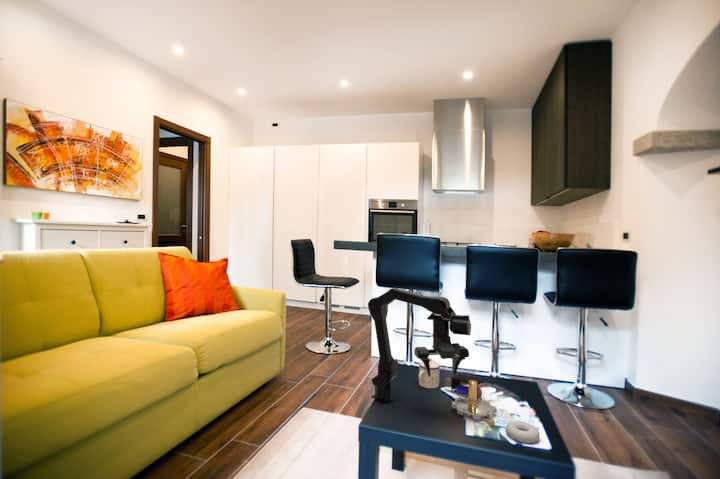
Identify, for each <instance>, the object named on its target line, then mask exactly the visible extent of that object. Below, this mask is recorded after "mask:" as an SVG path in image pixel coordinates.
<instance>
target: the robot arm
mask: <svg viewBox="0 0 720 479" xmlns="http://www.w3.org/2000/svg"><path fill="white" fill-rule="evenodd" d="M395 300H397V301H399V302H402V303H403V302H405V303H408V304H411V305H415V306H419V307H421V308H424V309H426V310H427V311H428V312H431V313H430V314H429V315H428V316H427V318H426V319H427V321H428V320H430V321H432V335H431V336H432V345H431V346H432V348H431V349H428V348H427V347H426V346H415V348H414V350H413V352H414V355H415V357H416V358H417V359H419V360H420V362H421V361H423V363H424V365H425V368H426V371H427V374H428V376H429V377H430V365H429V362H430V359H429V358H430V356H436V355H437V356H440V358H441V359H442V360H446V359H451V360H452V363H451V364H452V366H451V368H452V369H451V370H452V376H456V374H457V372H458V368H459V366H460V364H461V362H462V361H464V360H466V358H469V357H470V352H469V349H468V348H467V347H465V346H463V345H460V343H459V342H457V343H456V342H455V343H454V342H453V343H452V341H451V339H452V338H451V335H450V332H451V333H452V334H453V335H460V336H461V335H463V336H471V332H472V324H471V319H470V315H467V314H466V315H465V314H464V315H462V314H461V315H460V314H459V315H458V314H457V313H456V311H455V310H454V309H453V308H452V306H451V303H450V300H449V299H448V298H447V297H445V296H432V295H431V296H428V295H423V294H419V293H416V292H410V291H407V290H404V289H400V288H398V287H394V288H390V289H389V290H388V291H386V292H385V293H383V294H381V295H379V296H376V297H374V298H371V299H370V300H369V301H368V303H367V307H368V311H369V315H370V316H371V318H372V319H373V321H374V327H375V333H376V342H377V348H378V353H379V360H378V363H377V364H378V365H377V375H376V376H374V377H372V378H371V382H372V386H374V395H371V398H372V399H373V400H375V398H376V400H375V401H377V402H379V403H380V404H383V403H386V402H391V401H394V400H395V398H394V397H392V384H391V382H392V381H393V380H394V378H396V377H397V376H398V374H399V370H400V368H399V362H398V361H399V359H394V357H393V356H392V349H391V344H390V343H391V342H390V336H389V332H388V331H389V329H388V323H387V316H388V312H389V308H388V307H389V305H390V304H391V303H393V302H394V301H395Z"/></svg>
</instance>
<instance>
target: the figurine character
mask: <svg viewBox="0 0 720 479" xmlns="http://www.w3.org/2000/svg"><path fill="white" fill-rule="evenodd" d="M469 380H474V381H477V399H479V400H480V399H481V397H482V396H483V391H482V389H481V387H479V386H478V385H481V384H482V383H484V382H485V380H483V379H480V378H475V377H473V376H468V375H466V374H462V373H458V374H457V375H456V374H455V376H453V375H452V376H451V377H447V378H444V381H443V382H444V384H445V386H446V387H448V388H451V389H450V390H451V391H450V392H452V391H454V392H453V393H459V392H460V394H464V395H468V392H469ZM462 383H464V384H468V385H464V384H462ZM454 389H455V390H454Z"/></svg>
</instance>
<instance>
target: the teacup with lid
mask: <svg viewBox="0 0 720 479" xmlns="http://www.w3.org/2000/svg"><path fill="white" fill-rule="evenodd" d="M428 358H429V359H430V362H429V365H430V377H429V376H428V374H427V371H426V368H425V365H424V363H423V361H421V360H420V362H418V368H419V369H418V385H419V386H420V387H422V388H425V389H430V390H431V389H437V388H439V385H440V369H441V365H440V363H439V362H436V360H433V358H432V357H428Z"/></svg>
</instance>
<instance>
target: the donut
mask: <svg viewBox="0 0 720 479" xmlns="http://www.w3.org/2000/svg"><path fill="white" fill-rule="evenodd" d="M505 432H506V434H507V435H508V437H510V438H511V439H513V440H514V441H517V442H519V443H522V444H523V443H525V444H534V443H536V442H537V441H538V440H539V439H540V432H539V430H538V429H537V428H536V427H535V426H534V425H533V424H530V423H528V422H525V421H520V420H513V421H509V422H508V423H507V424H506V425H505Z"/></svg>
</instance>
